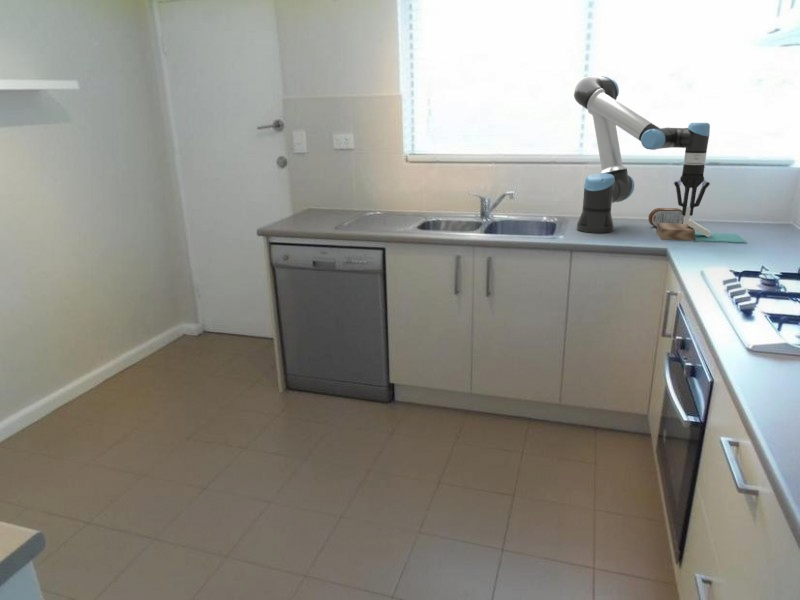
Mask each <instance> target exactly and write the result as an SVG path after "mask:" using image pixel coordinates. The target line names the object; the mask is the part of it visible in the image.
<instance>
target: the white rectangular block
mask: <svg viewBox="0 0 800 600" xmlns="http://www.w3.org/2000/svg"><path fill="white" fill-rule="evenodd" d="M688 225H689V226H690V227H692V228H693V229H694V230H695V231H696V232H700V233H702V234H703V235H705V236H707V237H708V238H709V237H710V236H711V234H712V233H713V232H711V231H710V229H707V228H706V227H704V226H702V225H701V224H699V223H697V222H695V221H694V220H693V219H691V218H689V224H688Z"/></svg>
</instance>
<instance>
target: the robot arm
mask: <svg viewBox="0 0 800 600" xmlns="http://www.w3.org/2000/svg"><path fill="white" fill-rule="evenodd" d="M619 91H620V89H619V85H618V82H616V80H614V79H613V78H611V77H608V76H604V75H603V76H592V75H589V76H585V77H581V79H579V80H578V81H577V82H576V83H575V85H574V88H573V96H574V101H576V103H578V105H580V106H582V107H583V108H584V109H586V110H587V112H588V114H590V115H592V119H593V125H594V130H595V138H596V142H597V144H596V145H597V149H598V155H599V161H600V166H601V170H600V172H599V173H594V174H593V173H592V174H590V175H587V176H586V177H585V181H584V185H583V188H584V190H583V201H582V211H581V214H580V216H579V218H578V220H577V223H576V230H577V231H579V232H585V233H590V234H591V233H594V234H605V233H612V232H613V231H614V227H615V226H614V220H613V217H612V204H613V203H619V202H623V201H625V200H627V199H629V198H630V197H631V195H632V194H633V192H634V191H635V181H634V179H633V177H632V176H631V175H629V173H628V168H627V167H626V166H625V165H623V160H622V156H621V149H620V143H619V142H620V141H619V137H618V130H617V127H619V128H620V129H621V130H622V131H624V132H626V133H628V134H629V135H630V136H632V137H634V139H636V140H638V141H640V143H641V145H642V147H643V148H645V149H646V150H651V151H652V150H653V151H656V150H661V149H670V148H671V149H672V148H678V149H679V148H681V149H685V152H684V157H683V159H684V160H683V163H684V164H683V165H682V166H683V167H682V173H681V176H680V179H678V180H676V181H673V185H674V187H675V189H676V190H675V191H676V197H677V205H678V206H679V207H682V209H681V210H682V215H684V222H683V224H689V219H690V216H691V217H693V214H694V208H696V207H699V206H700V204H701V202H702V199H703V197H704V195H705V192H706V190H707V188H708V187H709V186H710V184H711V183H710V182H708V181H707V180H705V177H704V173H705V168H706V167H705V166H706V165H705V163H706V159H707V151H708V145H709V139H710V129H711V125H710V123H709V122H690V123H689V124H688V127H659V126H657V125H655V124H653V123H652V122H651V121H649V120H648V119H646V118H645V117H643V116H642V115H639V114H638V113H636V112H635V111H634V110H632V109H630V108H629V107H627V106H625V105H624V104H622V103H621V102H619V101H618V100H617V98H618V97H619V93H620V92H619ZM681 184H682V185H683V186H684V193H683V200H682V191H681V186H682V185H681ZM700 185H702V186H701V188H700V190H699V193H698V196H697V198H696V194H697V189H698V187H699V186H700ZM690 189H691V193H690ZM689 193H690V194H691V195H690V194H689ZM689 196H690V200H689ZM688 200H689V201H690V202H688ZM688 203H689V206H688Z"/></svg>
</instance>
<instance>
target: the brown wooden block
mask: <svg viewBox="0 0 800 600" xmlns="http://www.w3.org/2000/svg"><path fill="white" fill-rule="evenodd" d="M695 232H696V230H695V229H693V228H692V227H690V226H689V225H688V224H684V223H683V224H676V223H658V226H657V227H656V234H657V235H658V237H659V239H660V238H661V239H660V240H669V239H672V240H673V239H674V240H675V241H690V240H694V234H695ZM672 240H671V241H672ZM674 240H673V241H674ZM694 241H695V240H694Z"/></svg>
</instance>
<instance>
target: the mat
mask: <svg viewBox="0 0 800 600" xmlns="http://www.w3.org/2000/svg"><path fill="white" fill-rule="evenodd" d="M711 233H712V234H711V236H710V237H709V238H708V237H707V236H705V235H703V234H702V233H700V232H698V231H695V234H694V241H695V242H700V241H703V242H704V243H720V242H726V244H741V243H748V241H746V240H745V239H744V238H743V237H742V236H741V235H739V234H738V233H731V232H730V233H726V232H711ZM703 242H702V243H703ZM727 242H728V243H727Z"/></svg>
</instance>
